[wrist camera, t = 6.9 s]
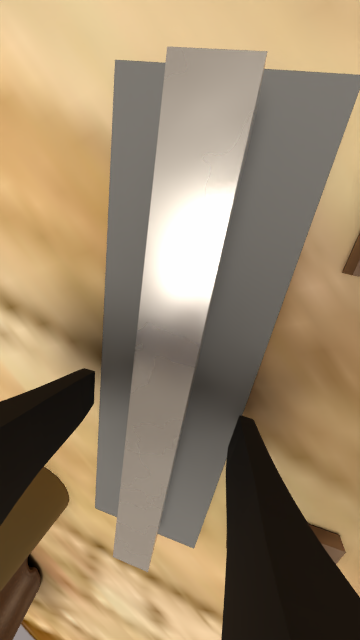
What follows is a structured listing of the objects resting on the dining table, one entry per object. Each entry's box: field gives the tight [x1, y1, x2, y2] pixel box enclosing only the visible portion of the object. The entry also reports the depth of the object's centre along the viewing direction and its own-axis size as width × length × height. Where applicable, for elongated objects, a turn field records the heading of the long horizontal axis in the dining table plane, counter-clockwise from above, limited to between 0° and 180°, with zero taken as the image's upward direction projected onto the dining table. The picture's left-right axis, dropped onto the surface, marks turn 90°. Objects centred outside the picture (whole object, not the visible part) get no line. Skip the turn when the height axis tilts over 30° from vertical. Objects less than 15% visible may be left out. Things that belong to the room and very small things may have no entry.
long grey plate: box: [95, 60, 360, 548], centre depth 12 cm, size 8×26×1 cm, turn 171°
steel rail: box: [113, 47, 267, 572], centre depth 11 cm, size 2×24×2 cm, turn 171°
